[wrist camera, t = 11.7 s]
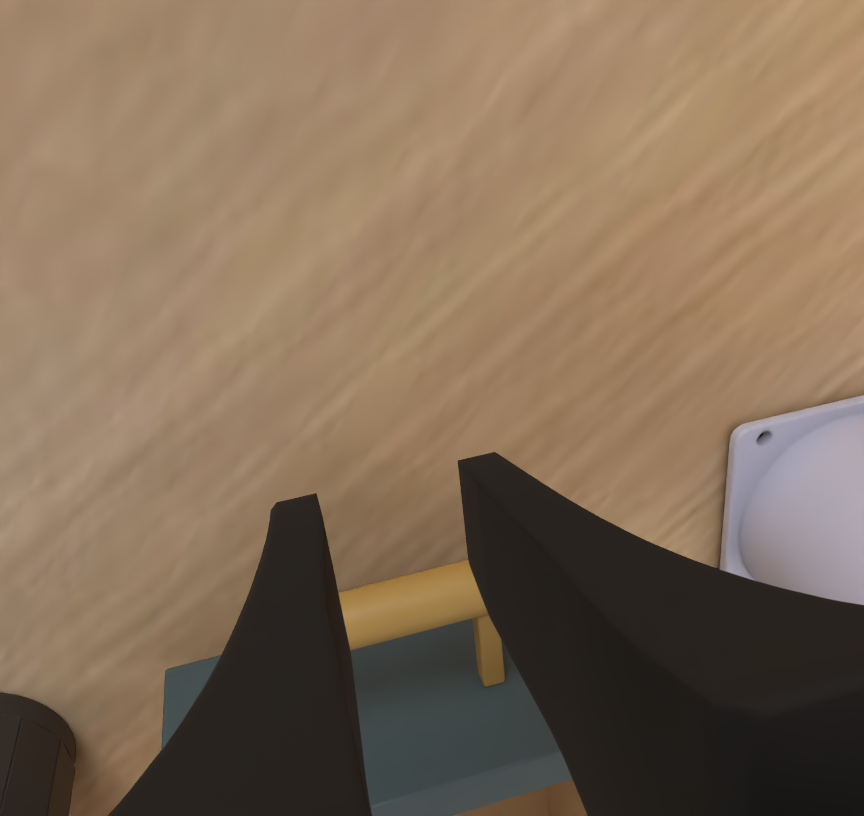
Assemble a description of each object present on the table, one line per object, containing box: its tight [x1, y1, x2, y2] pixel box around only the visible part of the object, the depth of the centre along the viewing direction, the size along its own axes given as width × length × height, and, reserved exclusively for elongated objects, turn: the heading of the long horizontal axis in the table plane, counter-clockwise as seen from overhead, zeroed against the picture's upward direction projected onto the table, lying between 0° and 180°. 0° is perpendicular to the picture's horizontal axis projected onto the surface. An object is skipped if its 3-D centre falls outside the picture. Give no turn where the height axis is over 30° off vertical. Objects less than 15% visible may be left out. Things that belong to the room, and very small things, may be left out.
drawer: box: [162, 560, 587, 816], centre depth 24 cm, size 16×12×6 cm
